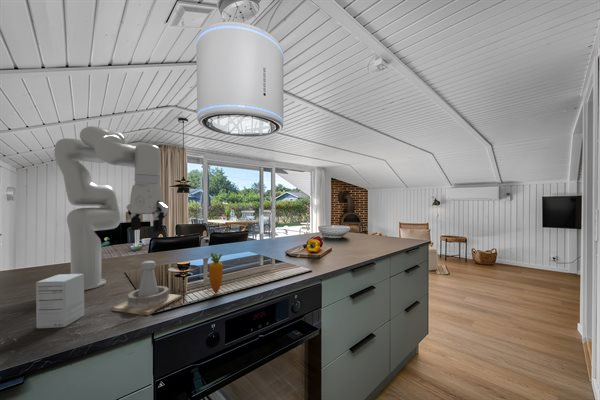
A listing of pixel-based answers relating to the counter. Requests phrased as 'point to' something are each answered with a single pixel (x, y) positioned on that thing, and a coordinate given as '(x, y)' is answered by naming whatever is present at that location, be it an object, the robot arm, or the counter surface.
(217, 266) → the carrot
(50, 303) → the supplement box
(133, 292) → the ring holder
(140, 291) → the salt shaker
